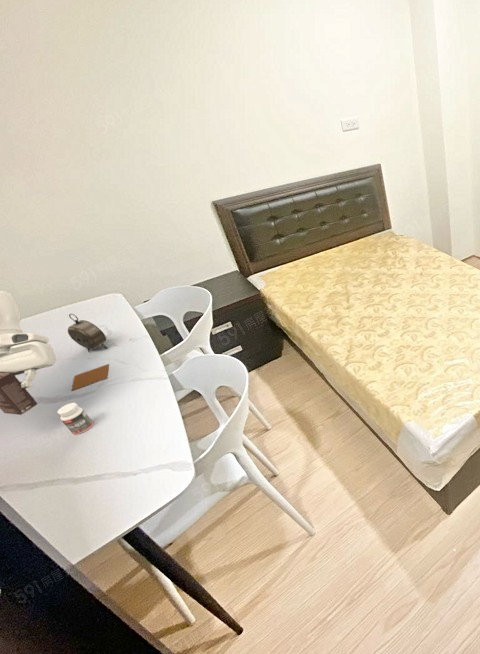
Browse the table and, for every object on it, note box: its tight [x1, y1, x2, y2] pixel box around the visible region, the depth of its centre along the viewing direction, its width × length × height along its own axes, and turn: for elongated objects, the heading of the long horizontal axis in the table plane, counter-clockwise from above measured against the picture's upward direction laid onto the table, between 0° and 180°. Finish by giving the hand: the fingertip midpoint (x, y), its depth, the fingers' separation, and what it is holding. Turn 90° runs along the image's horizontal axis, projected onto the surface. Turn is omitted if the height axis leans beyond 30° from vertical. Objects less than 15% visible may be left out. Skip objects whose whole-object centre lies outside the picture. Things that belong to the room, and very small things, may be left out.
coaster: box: [71, 363, 110, 391], centre depth 136 cm, size 9×9×1 cm
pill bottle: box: [57, 402, 94, 435], centre depth 115 cm, size 5×5×8 cm
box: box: [0, 371, 38, 416], centre depth 108 cm, size 6×4×12 cm
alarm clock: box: [67, 313, 108, 353], centre depth 146 cm, size 11×5×16 cm, turn 76°
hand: (6, 393), depth 108 cm, fingers closed on box, 7 cm apart
